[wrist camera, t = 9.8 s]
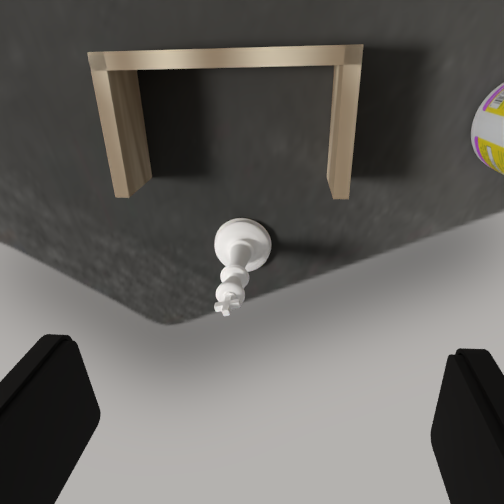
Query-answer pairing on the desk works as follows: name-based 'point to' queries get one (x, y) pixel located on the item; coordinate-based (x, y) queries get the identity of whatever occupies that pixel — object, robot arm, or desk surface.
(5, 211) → the desk surface
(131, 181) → the open-side wooden frame
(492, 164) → the supplement bottle
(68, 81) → the desk surface
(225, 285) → the chess piece
